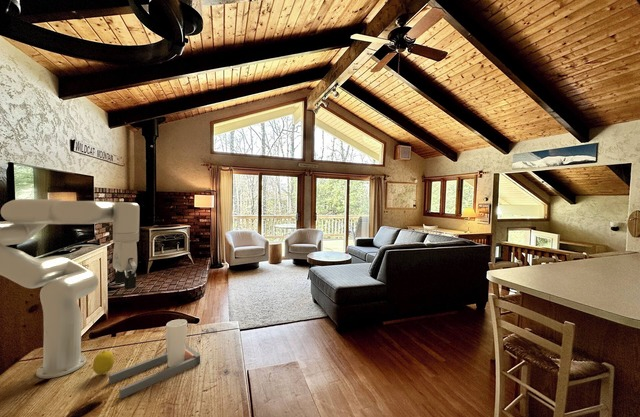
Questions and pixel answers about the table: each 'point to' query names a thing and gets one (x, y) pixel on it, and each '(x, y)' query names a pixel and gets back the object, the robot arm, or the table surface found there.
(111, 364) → the lemon
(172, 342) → the drinking glass
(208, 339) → the table surface
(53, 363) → the robot arm
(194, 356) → the guide channel
